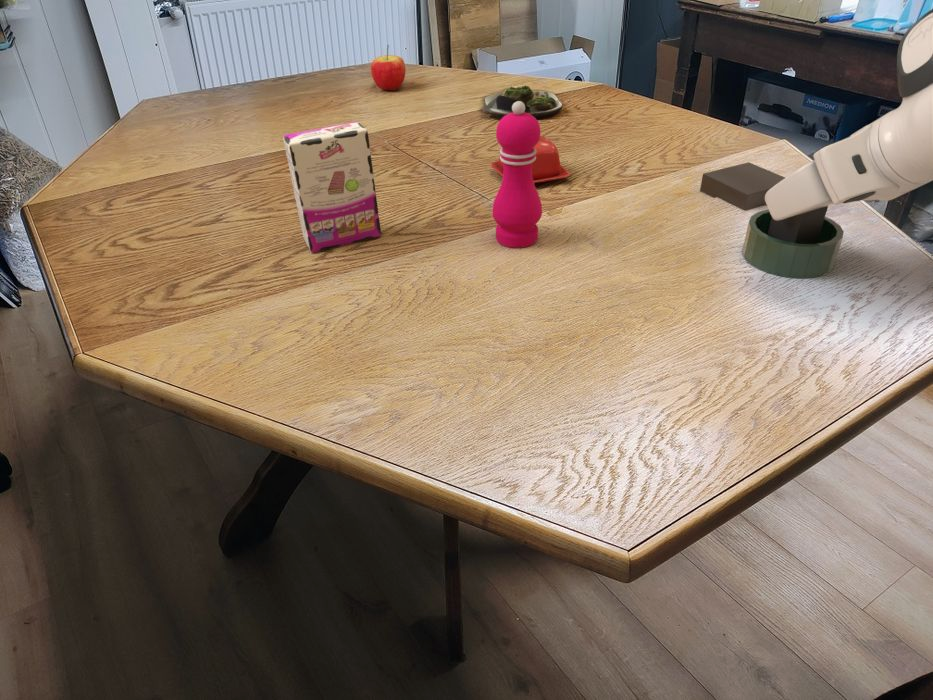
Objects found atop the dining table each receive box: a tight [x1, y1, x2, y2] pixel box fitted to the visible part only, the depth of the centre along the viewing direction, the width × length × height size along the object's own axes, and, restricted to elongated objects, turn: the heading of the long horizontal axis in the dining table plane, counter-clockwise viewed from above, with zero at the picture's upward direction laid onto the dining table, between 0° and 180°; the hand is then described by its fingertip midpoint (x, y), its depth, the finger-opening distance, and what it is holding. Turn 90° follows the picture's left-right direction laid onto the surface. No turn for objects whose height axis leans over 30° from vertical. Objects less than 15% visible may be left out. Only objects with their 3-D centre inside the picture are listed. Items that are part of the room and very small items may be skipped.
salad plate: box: [481, 84, 563, 121], centre depth 152 cm, size 19×18×5 cm
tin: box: [741, 208, 844, 280], centre depth 93 cm, size 12×12×5 cm
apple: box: [370, 44, 406, 91], centre depth 166 cm, size 8×8×10 cm
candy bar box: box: [282, 121, 382, 254], centre depth 99 cm, size 11×5×16 cm, turn 115°
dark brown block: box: [768, 206, 829, 244], centre depth 91 cm, size 4×4×10 cm
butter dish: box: [490, 134, 571, 184], centre depth 119 cm, size 12×12×8 cm
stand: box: [699, 162, 786, 212], centre depth 111 cm, size 10×10×3 cm
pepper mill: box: [491, 101, 543, 249], centre depth 96 cm, size 7×7×20 cm
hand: (796, 208), depth 90 cm, fingers open, 5 cm apart
